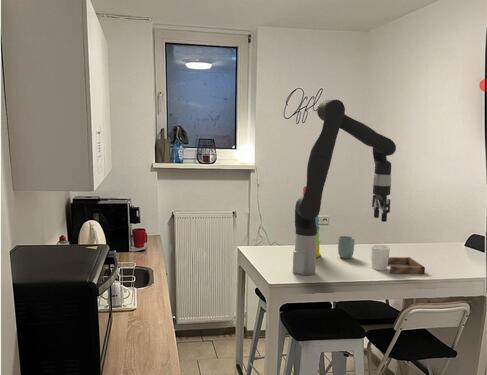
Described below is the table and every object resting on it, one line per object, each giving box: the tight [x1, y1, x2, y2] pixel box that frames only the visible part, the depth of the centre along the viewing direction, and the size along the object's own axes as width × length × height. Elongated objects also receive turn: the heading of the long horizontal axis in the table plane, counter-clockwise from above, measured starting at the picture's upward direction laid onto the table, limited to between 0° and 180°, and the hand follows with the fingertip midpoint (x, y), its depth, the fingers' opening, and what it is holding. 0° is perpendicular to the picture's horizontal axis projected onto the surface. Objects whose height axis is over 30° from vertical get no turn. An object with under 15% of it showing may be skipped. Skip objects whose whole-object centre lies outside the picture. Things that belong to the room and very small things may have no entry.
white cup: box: [371, 244, 391, 271], centre depth 193 cm, size 8×8×10 cm
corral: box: [388, 256, 426, 275], centre depth 194 cm, size 15×15×3 cm
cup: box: [337, 235, 356, 260], centre depth 208 cm, size 8×8×10 cm
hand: (379, 219), depth 192 cm, fingers open, 8 cm apart
